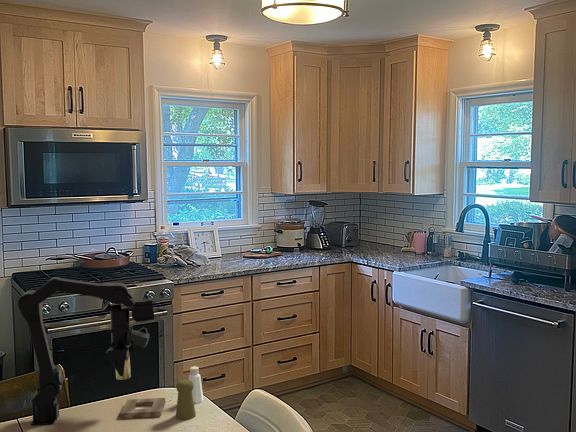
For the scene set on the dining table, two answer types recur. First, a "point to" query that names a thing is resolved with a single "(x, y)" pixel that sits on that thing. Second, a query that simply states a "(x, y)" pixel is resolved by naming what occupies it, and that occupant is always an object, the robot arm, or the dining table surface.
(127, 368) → the brass pin
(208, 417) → the dining table surface
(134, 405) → the socket board
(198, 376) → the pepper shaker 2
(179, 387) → the pepper shaker
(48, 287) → the robot arm
